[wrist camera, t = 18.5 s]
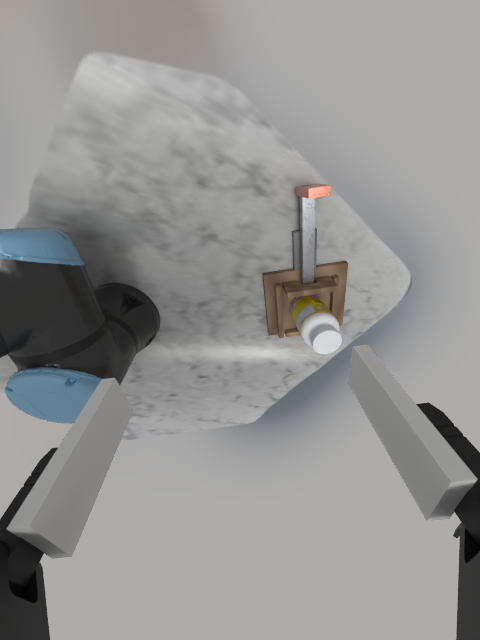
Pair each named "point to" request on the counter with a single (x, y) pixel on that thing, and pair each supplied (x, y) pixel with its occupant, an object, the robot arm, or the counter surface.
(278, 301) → the dock
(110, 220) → the counter surface
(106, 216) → the counter surface
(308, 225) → the lock pin
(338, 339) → the supplement bottle
